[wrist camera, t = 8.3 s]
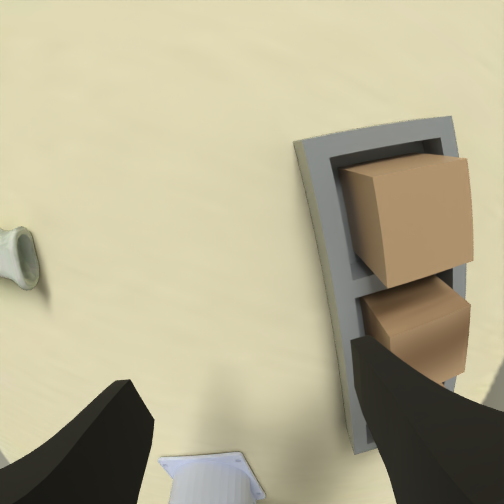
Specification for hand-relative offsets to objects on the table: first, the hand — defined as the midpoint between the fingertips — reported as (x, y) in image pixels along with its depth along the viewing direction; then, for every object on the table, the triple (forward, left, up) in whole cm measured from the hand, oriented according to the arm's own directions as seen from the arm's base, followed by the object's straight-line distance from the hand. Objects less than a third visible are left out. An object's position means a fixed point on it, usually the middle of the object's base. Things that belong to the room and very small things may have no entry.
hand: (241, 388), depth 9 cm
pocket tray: (-5, -8, -9) cm, 13 cm away
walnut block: (-4, -8, -8) cm, 13 cm away
